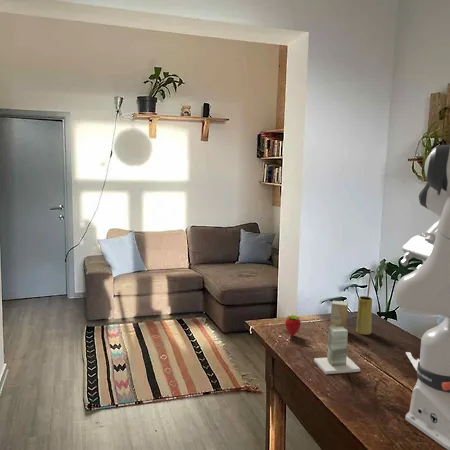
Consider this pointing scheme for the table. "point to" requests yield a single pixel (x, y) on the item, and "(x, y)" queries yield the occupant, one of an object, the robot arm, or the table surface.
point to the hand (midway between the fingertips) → (410, 267)
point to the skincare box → (339, 314)
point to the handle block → (337, 346)
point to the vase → (364, 315)
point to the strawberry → (292, 324)
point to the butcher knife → (413, 360)
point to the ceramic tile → (336, 369)
